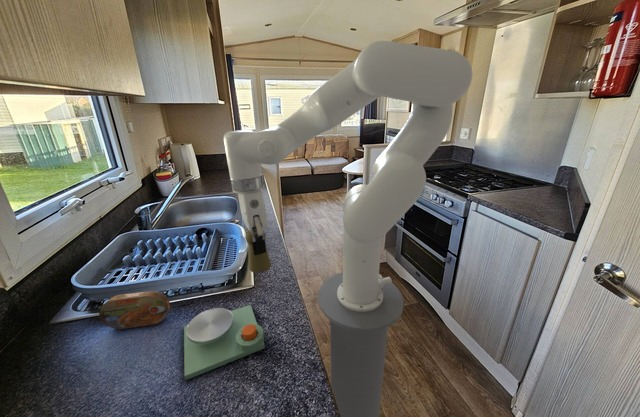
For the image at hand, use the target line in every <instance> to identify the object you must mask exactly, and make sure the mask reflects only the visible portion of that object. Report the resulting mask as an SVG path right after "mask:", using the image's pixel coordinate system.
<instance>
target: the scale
mask: <svg viewBox="0 0 640 417" xmlns="http://www.w3.org/2000/svg"><path fill="white" fill-rule="evenodd" d="M253 310H254V309H253V308H252V305H251V304H248V305H245V306H242V307H239V308H235V309H233V310H229V311H230V312H231V313H232V315H233V320H234V321H233V326H232V328H231V329H230V331H229V332H228V333H227V334H226V335H225V336H224V337H222V338H221V339H219V340H217V341H215V342H212V343H209V344H195V343H193V342H191V341H190V340H189V338H188V336H187V327H188V325H189V324H187V325H184V326H183V356H184V357H183V359H184V360H183V362H184V364H183V367H184V370H183V371H184V372H183V373H184V375H183V376H184V379H185V381H188V380H190V379H193V378H195V377H197V376H200V375H202V374H204V373H207V372H210V371H212V370H214V369H217V368H219V367H222V366H224V365H228V364H229V363H232V362H234V361H237V360H239V359H242V358H244V357H247V356H249V355H251V354H254V353H256V352H259V351H261V350H263V349H265V348H266V346H265V342H264V340H265V332H264V329H263V327H262V326H261V325H259V324H258V322H257V319H256V316H255V313H254V311H253ZM249 324H252V325H254V326H255V327H256V332H257V335H256V337H255V338H254V339H253V340H251V341H245V340H244V339H243V335H242V329H243V328H244V327H245V326H246V325H249Z"/></svg>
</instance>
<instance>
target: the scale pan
mask: <svg viewBox="0 0 640 417" xmlns="http://www.w3.org/2000/svg"><path fill="white" fill-rule="evenodd" d="M230 311H231V310H229V309H227V308H224V307H214V308H209V309H206V310H204V311H202V312H200V313H198V314H197V315H196V316H194V317H193V318H192V319H191V320H190V322H188V324H187V325H188V327H187V336H188V338H189V340H190V341H191V342H193V343H195V344H209V343H212V342H215V341H217V340H219V339H221V338H222V337H224V336H225V335H226V334H227V333H228V332H229V331H230V329H231V328H232V326H233V321H234V320H233V315H232V313H231V312H230Z"/></svg>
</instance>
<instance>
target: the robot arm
mask: <svg viewBox="0 0 640 417" xmlns="http://www.w3.org/2000/svg"><path fill="white" fill-rule="evenodd" d="M472 68H473V67H472V65H471V62H470V61H469V60H468V58H467V57H465V56H464V54H462V53H459V52H458V51H454V50H452V49H451V50H450V49H446V48H437V47H431V46H425V45H418V44H411V43H405V42H398V41H391V40H378V41H373V42H371V43H369V44H368V45H366V46H365V47H364V48H363V49H362V50H361V51H360V52H359V54H358V55H357V58H356V59H355V60H353V61H352V62H351V63H349V64H348V65H346V66H345V67H344V68H343V69H341V70H340V71H339V72H338V73H336V74H335V75H334V76H332V77H331V78H330V79H328V80H326V81H325V82H324V83H322V84H321V85H320V86H318V87H317V88H316V89H315V90H313V91H312V92H311V93H310V94H309V96H308V97H307V99H306V101H305V102H304V103H303V104H302V105H301V107H298V109H297V110H296V111H294V112H293V113H292V114H290V115H289V116H288V117H286V118H285V119H284V120H282V121H281V122H279V123H278V124H277V125H276V126H274V127H270V128H267V129H264V130H259V131H253V130H250V129H240V130H239V129H238V130H233V131H232V130H230V131H227V132H226V133H224V135H223V144H224V151H225V156H226V162H227V168H228V173H229V180H230V184H231V190H232V192H233V193H234V194H237V197H238V198H237V199H238V203H239V209H240V213H241V218H242V221H243V223H244V225H245V227H246V232H248V231H251V234H252V238H253V241H252V246H253V252H254V255H259V254H262V253H266V248H267V245H266V238H264V234H263V231H264V229H268V228H269V221H268V215H267V210H266V204H265V200H264V196H263V192H262V190H264V188H265V185H264V178H263V171H262V165H270V166H271V165H277V164H280V163H281V162H282V161H284V160H285V159H287V157H288V156H290V155H291V154H292V153H293V152H295V151H296V150H298V149H299V148H301V147H302V146H303V145H305V144H307V143H308V142H310V141H311V140H313V139H314V138H316V137H317V136H319V135H321V134H322V133H325V132H327V131H330V130H333V129H334V128H335V127H337V126H339V125H340V124H342V123H344V121H346V120H347V119H349V118H350V117H352V116H353V115H355V114H356V113H358V112H359V111H361V110H362V109H363V108H366V107H367V106H368V105H369V104H371V103H373V102H375V101H376V100H377V99H378V98H380V97H383V98H388V99H393V100H399V101H403V102H404V101H405V102H411V111H410V114H409V117H408V118H407V120H406V122H405V124H404V125H403V126H402V127H401V129H400V130H399V132H398V133H397V134H396V136H395V137H394V138H393V139H392V140H391V142H390V143H389V145H388V146H387V147H386V148H385V149H384V150H383V151H382V152H381V154H379V156H378V157H377V158H376V160H375V161H374V164H373V166H372V176H373V178H372V179H371V180H370V181H369V183H368V184H364V183H363V184H357V185H354V186H353V187H352V188H350V189H349V190H348V191H347V192H346V194H345V196H344V199H343V203H342V204H343V205H342V206H343V208H342V213H343V214H342V223H343V235H342V236H343V241H342V242H343V243H342V244H343V245H342V246H343V247H342V256H343V257H342V272H343V283H342V284H341V285H340V286H339V287H338V290H337V298H338V300H339V302H340V303H341V304H342V305H343V306H345V307H346V308H348V309H350V310H353V311H358V312H367V311H372V310H374V309H376V308H378V307H379V306H380V305H381V303H382V301H383V292H382V290H381V288H383V286H384V285H388V284H391V283H393V280H392V278H391V277H390V276H387V277H384V279H382V277H383V276H382V274H380V266H381V263H380V262H381V251H382V238H383V237H384V236H385V235H387V233H388V232H389V231H390V230H391V229H392V228H393V227H394V226H395V225H396V224H397V223H398V222H399V221H400V219H401V218H402V217H404V215H405V214H406V213H407V212H408V211H409V210H410V209H411V208H412V207H413V206H414V204H415V203H416V202H417V201H418V200H419V198H420V197H421V195H422V193H423V191H424V189H425V187H426V183H427V175H426V174H427V173H426V169H425V168H424V165H426V163H427V162H428V160H429V159H430V158H431V157H432V155H433V154H434V153H435V151H437V149H438V148H439V146H440V145H441V144H442V143H443V141H444V140H445V138H446V136H447V134H448V132H449V130H450V127H451V124H452V118H453V106H454V105H453V104H454V103H456V102H458V101H460V100H461V99H462V98H463V97H464V96H465V94H466V93H467V92H468V90H469V89H470V86H471V84H472V81H473V69H472ZM263 228H264V229H263ZM256 231H257V234H254V232H256ZM381 279H382V280H381Z"/></svg>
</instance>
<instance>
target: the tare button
mask: <svg viewBox="0 0 640 417" xmlns="http://www.w3.org/2000/svg"><path fill="white" fill-rule="evenodd" d="M242 335H243V339H244V340H245V341H251V340H253V339H254V338H255V337H256V335H257V332H256V327H255V326H254V325H252V324H249V325H246V326H245V327H244V328H243V329H242Z"/></svg>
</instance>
